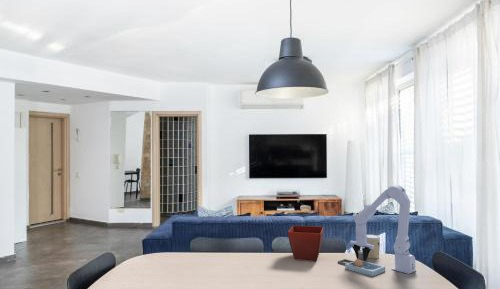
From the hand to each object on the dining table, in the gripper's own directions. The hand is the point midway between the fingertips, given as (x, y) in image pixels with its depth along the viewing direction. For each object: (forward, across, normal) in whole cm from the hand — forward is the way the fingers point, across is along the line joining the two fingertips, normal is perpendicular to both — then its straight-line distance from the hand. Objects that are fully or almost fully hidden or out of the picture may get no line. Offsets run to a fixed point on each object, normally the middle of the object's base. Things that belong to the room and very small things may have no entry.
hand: (361, 259), depth 196 cm
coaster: (+2, +5, +8) cm, 9 cm away
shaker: (+2, 0, 0) cm, 2 cm away
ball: (-1, -4, +10) cm, 11 cm away
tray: (+2, -8, +10) cm, 13 cm away
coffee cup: (+2, +3, -15) cm, 15 cm away
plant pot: (+2, +27, +16) cm, 31 cm away
